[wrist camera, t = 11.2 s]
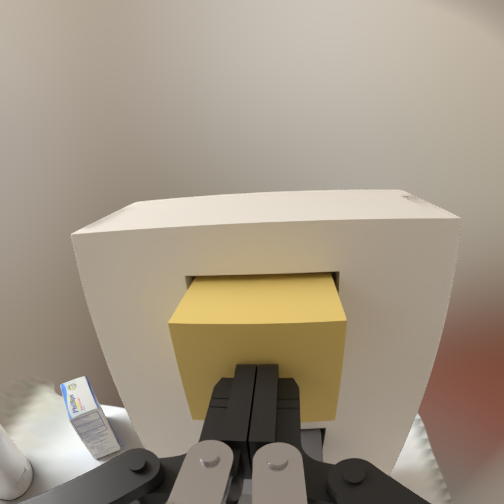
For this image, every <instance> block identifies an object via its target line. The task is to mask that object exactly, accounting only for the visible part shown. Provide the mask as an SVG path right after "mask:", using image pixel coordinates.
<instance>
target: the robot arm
mask: <svg viewBox="0 0 504 504" xmlns="http://www.w3.org/2000/svg"><path fill="white" fill-rule="evenodd" d="M252 472H253V479H252ZM32 477H33V471H32V467H31V464H30V462H29V461H28V460H27V459H26V457H25V456H24V455H23V454H22V452H21V451H20V450H19V448H18V447H17V446H16V444H15V443H14V442H13V440H12V439H11V438H10V436H9V435H8V433H7V432H6V431H5V429H4V428H3V426H2V425H1V424H0V499H3V500H12V499H15V498H18V497H19V496H21V495H22V494H24V493H25V492H26V490H27V489H28V488H29V486H30V484H31V481H32ZM244 479H252V504H431V503H429V502H427V501H426V500H424V499H423V498H421V497H420V496H418V495H417V494H415V493H414V492H412V491H410V490H409V489H407V488H406V487H404V486H403V485H402V484H400V483H399V482H397V481H396V480H394V479H393V478H391V477H390V476H388V475H387V474H386V473H384V472H383V471H381V470H380V469H379V468H377V467H376V466H374V465H373V464H372V463H370V462H368V461H366V460H364V459H360V458H349V459H345V460H342V461H340V462H338V463H337V464H330V463H325V462H320V461H317V460H315V459H313V458H311V457H309V456H308V455H307V454H306V453H305V452H304V450H303V448H302V445H301V421H300V392H299V386H298V385H297V383H296V381H295V380H294V378H279V365H278V364H258V367H257V364H237V365H236V368H235V373H234V378H224V377H222V378H221V379H220V380H219V381H218V383H217V384H216V385H215V386H214V388H213V392H212V395H211V399H210V402H209V408H208V410H207V413H206V417H205V421H204V424H203V428H202V432H201V435H200V439H199V441H198V443H196V444H195V445H193V446H192V447H191V448H190V449H189V450H188V452H187V453H185V454H183V455H179V456H173V457H165V458H158V457H157V456H156V455H155V454H154V453H153V452H151V451H149V450H147V449H140V448H139V449H132V450H129V451H127V452H125V453H123V454H121V455H119V456H117V457H116V458H114V459H112V460H110V461H108V462H106V463H104V464H102V465H100V466H99V467H97V468H95V469H93V470H91V471H89V472H87V473H85V474H83V475H81V476H79V477H77V478H75V479H72V480H70V481H68V482H66V483H64V484H62V485H60V486H58V487H55V488H53V489H51V490H49V491H46V492H44V493H42V494H40V495H37V496H35V497H32V498H30V499H28V500H25V501H23V502H20V503H18V504H241V499H242V490H243V483H244Z"/></svg>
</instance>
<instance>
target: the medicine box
mask: <svg viewBox="0 0 504 504" xmlns="http://www.w3.org/2000/svg"><path fill="white" fill-rule="evenodd" d="M60 386H61V389H62V394H63V398H64V401H65V405H66V409H67V412H68V416H69V420H70V422H71V424H72V426H73V428H74V429H75V431H76V432H77V434H78V435H79V437H80V438H81V440H82V441H83V443H84V444H85V446H86V447H87V449H88V450H89V452H90V453H91V455H92V456H93V457H94V458H95V459H98V458H100V457H103V456H106V455H108V454H111V453H113V452H116V451H118V450H121V447H120V445H119V443H118V441H117V439H116V437H115V435H114V433H113V431H112V429H111V427H110V425H109V423H108V420H107V418H106V416H105V414H104V412H103V410H102V408H101V406H100V404H99V402H98V400H97V399H96V396H95V394H94V392H93V390H92V388H91V385H90V383H89V381H88V379H87V377H86V376H84V377H81V378H77V379H74V380H71V381H68V382H66V383H63V384H61V385H60Z"/></svg>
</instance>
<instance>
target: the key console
mask: <svg viewBox="0 0 504 504" xmlns="http://www.w3.org/2000/svg"><path fill="white" fill-rule="evenodd" d="M460 227H461V218H460V217H458V216H455V215H454V214H452V213H450V212H448V211H446V210H444V209H442V208H440V207H437V206H435V205H433V204H431V203H429V202H427V201H425V200H423V199H420V198H418V197H416V196H414V195H412V194H409V193H407V192H405V191H402V190H317V191H285V192H263V193H243V194H229V195H228V194H226V195H211V196H199V197H187V198H186V197H185V198H173V199H162V200H151V201H142V202H135V203H133V204H131V205H129V206H126V207H124V208H122V209H120V210H118V211H116V212H114V213H112V214H110V215H108V216H106V217H104V218H102V219H100V220H98V221H96V222H94V223H92V224H90V225H88V226H86V227H84V228H82V229H80V230H78V231H76V232H74V233H72V234H71V240H72V245H73V249H74V254H75V258H76V263H77V266H78V271H79V275H80V279H81V283H82V286H83V290H84V294H85V297H86V301H87V304H88V308H89V311H90V314H91V318H92V321H93V324H94V327H95V330H96V333H97V336H98V339H99V342H100V345H101V348H102V351H103V354H104V356H105V359H106V362H107V365H108V367H109V370H110V373H111V375H112V378H113V380H114V383H115V385H116V388H117V390H118V392H119V395H120V397H121V399H122V402H123V404H124V406H125V409H126V411H127V413H128V415H129V418H130V420H131V422H132V424H133V426H134V428H135V430H136V433H137V435H138V437H139V439H140V441H141V443H142V445H143V447H144V449H147V450H149V451H151V452H153V453H154V454H155V455H156V456H157V457H158V458H165V457H173V456H179V455H183V454H185V453H187V452H188V450H189V449H190V448H191V447H192V446H193V445H195V444H196V443H198V441H199V439H200V435H201V432H202V428H203V424H204V421H205V420H193V419H192V417H191V413H190V410H189V406H188V402H187V399H186V395H185V392H184V388H183V384H182V380H181V376H180V372H179V369H178V365H177V360H176V356H175V352H174V348H173V344H172V339H171V335H170V330H169V326H168V322H169V320H170V319H171V317H172V315H173V313H174V312H175V310H176V308H177V307H178V305H179V303H180V302H181V300H182V298H183V297H184V295H185V293H186V292H187V290H188V288H189V287H190V285H191V283H192V282H193V280H194V279H195V277H196V276H205V275H247V274H280V273H309V272H331V275H332V278H333V281H334V284H335V287H336V289H337V292H338V295H339V298H340V301H341V304H342V307H343V310H344V313H345V316H346V319H347V326H346V337H345V347H344V357H343V365H342V374H341V382H340V389H339V396H338V403H337V410H336V416H335V420H333V421H318V422H301V429H313V428H320V429H321V441H322V453H323V462H325V463H330V464H337V463H338V462H340V461H342V460H345V459H349V458H360V459H364V460H366V461H368V462H370V463H372V464H373V465H374V466H376V467H377V468H379V469H380V470H381V471H383V472H384V473H386V474H387V475H388V476H389V475H390V473H391V471H392V469H393V467H394V465H395V463H396V461H397V459H398V457H399V454H400V452H401V450H402V448H403V446H404V443H405V441H406V439H407V436H408V434H409V432H410V429H411V427H412V424H413V422H414V419H415V417H416V414H417V411H418V409H419V405H420V403H421V400H422V397H423V395H424V392H425V389H426V386H427V383H428V380H429V377H430V374H431V370H432V367H433V364H434V361H435V357H436V354H437V350H438V346H439V342H440V339H441V334H442V331H443V327H444V323H445V318H446V314H447V310H448V305H449V300H450V295H451V290H452V284H453V279H454V273H455V266H456V259H457V253H458V244H459V237H460Z"/></svg>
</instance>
